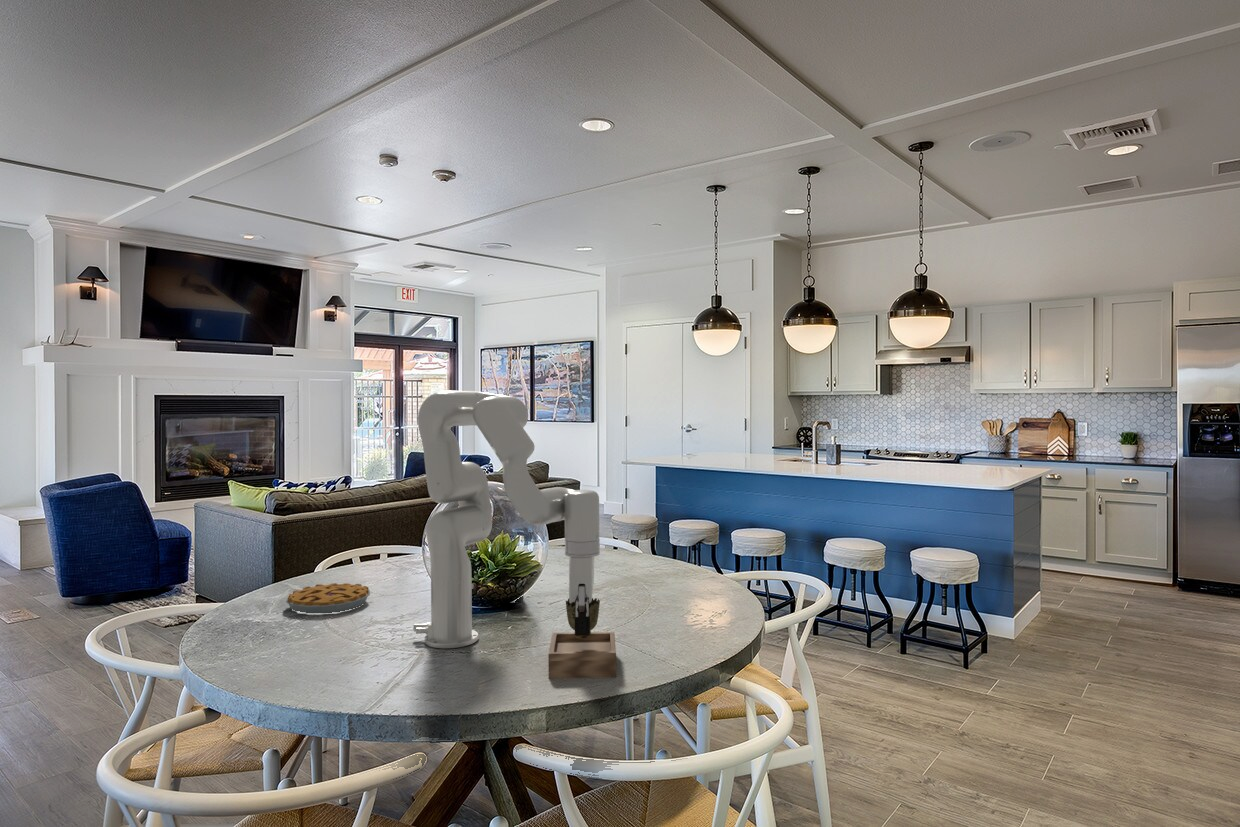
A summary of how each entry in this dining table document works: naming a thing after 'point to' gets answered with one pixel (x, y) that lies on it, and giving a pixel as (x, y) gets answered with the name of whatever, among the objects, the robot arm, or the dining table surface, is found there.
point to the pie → (328, 598)
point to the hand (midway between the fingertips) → (582, 629)
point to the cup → (592, 613)
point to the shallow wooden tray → (582, 656)
